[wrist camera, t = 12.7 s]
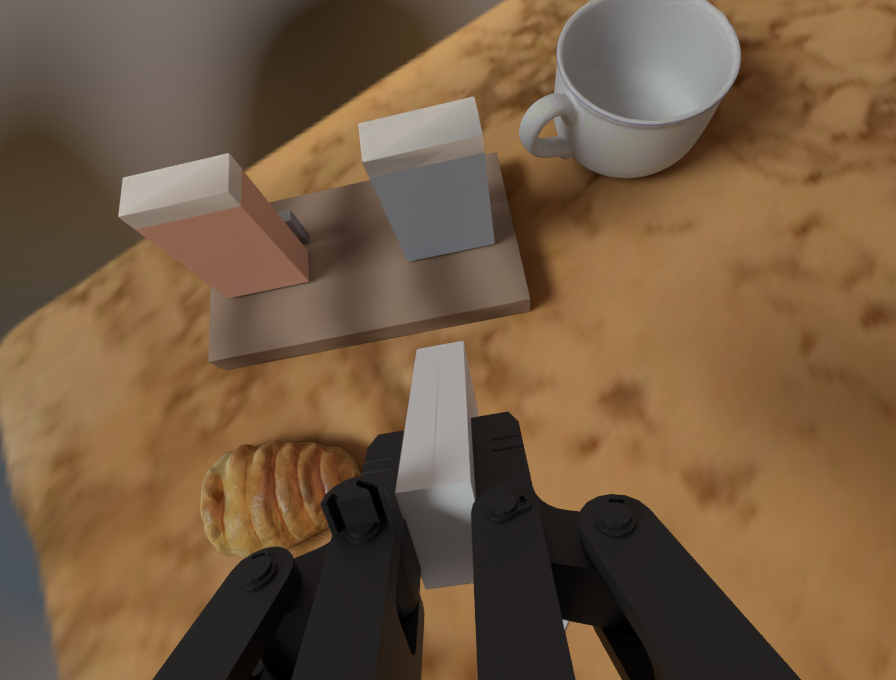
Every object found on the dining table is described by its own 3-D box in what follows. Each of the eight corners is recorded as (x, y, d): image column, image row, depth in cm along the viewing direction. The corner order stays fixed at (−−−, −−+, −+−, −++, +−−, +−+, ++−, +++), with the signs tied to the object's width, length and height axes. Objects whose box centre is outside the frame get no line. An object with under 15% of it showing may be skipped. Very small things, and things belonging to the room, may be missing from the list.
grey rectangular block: (488, 212, 34) (474, 96, 25) (494, 243, 33) (482, 135, 24) (403, 230, 34) (358, 123, 25) (407, 261, 33) (362, 162, 24)
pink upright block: (307, 250, 35) (229, 153, 26) (309, 281, 34) (228, 192, 25) (228, 267, 36) (122, 177, 26) (227, 298, 35) (118, 217, 25)
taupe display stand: (498, 170, 38) (494, 121, 33) (530, 311, 33) (530, 277, 29) (227, 229, 40) (188, 190, 35) (225, 370, 35) (179, 347, 31)
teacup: (659, 67, 39) (691, -40, 31) (728, 171, 35) (782, 77, 27) (492, 126, 39) (484, 34, 32) (540, 236, 35) (544, 160, 28)
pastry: (359, 426, 33) (339, 415, 29) (373, 533, 30) (353, 535, 27) (225, 457, 33) (190, 449, 30) (229, 564, 31) (191, 570, 27)
